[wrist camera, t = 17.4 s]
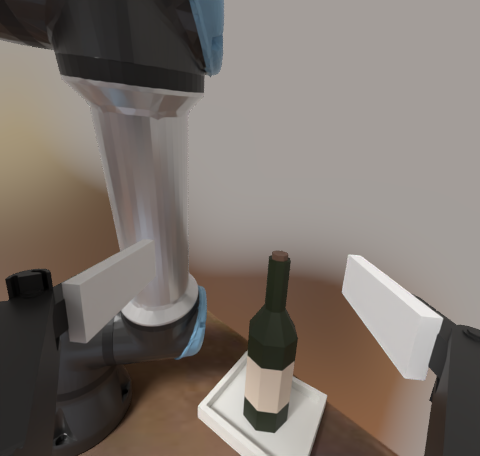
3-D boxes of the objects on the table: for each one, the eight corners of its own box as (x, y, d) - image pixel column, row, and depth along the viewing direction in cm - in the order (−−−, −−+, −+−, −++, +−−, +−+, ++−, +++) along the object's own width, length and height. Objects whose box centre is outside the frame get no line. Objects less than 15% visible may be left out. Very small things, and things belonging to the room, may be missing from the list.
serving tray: (197, 417, 39) (197, 406, 39) (246, 359, 52) (247, 350, 51) (295, 503, 29) (297, 490, 29) (325, 405, 42) (327, 395, 42)
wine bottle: (279, 445, 35) (301, 269, 28) (233, 417, 39) (243, 255, 32) (292, 400, 42) (313, 251, 35) (253, 380, 46) (264, 242, 39)
